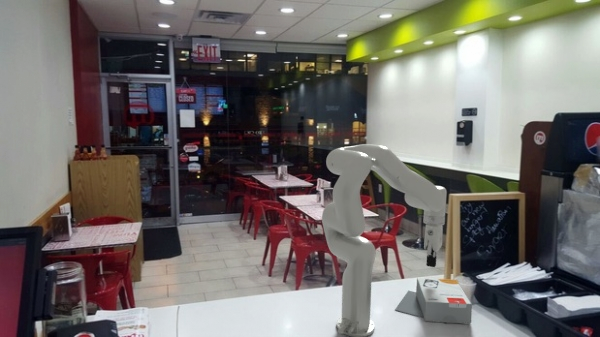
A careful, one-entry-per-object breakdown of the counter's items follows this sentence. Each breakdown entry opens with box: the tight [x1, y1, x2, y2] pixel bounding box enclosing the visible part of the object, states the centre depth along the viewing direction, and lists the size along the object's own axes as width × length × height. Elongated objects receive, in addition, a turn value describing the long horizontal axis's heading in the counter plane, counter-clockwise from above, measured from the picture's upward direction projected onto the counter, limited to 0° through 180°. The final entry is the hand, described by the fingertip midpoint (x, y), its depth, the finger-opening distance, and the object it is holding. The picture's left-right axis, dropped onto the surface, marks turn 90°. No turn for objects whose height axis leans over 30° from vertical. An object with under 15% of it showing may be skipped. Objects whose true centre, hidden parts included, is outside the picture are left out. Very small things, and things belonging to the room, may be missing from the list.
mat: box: [394, 290, 448, 325], centre depth 150 cm, size 18×18×1 cm
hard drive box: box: [415, 277, 473, 324], centre depth 147 cm, size 16×8×20 cm
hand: (431, 265), depth 153 cm, fingers closed
